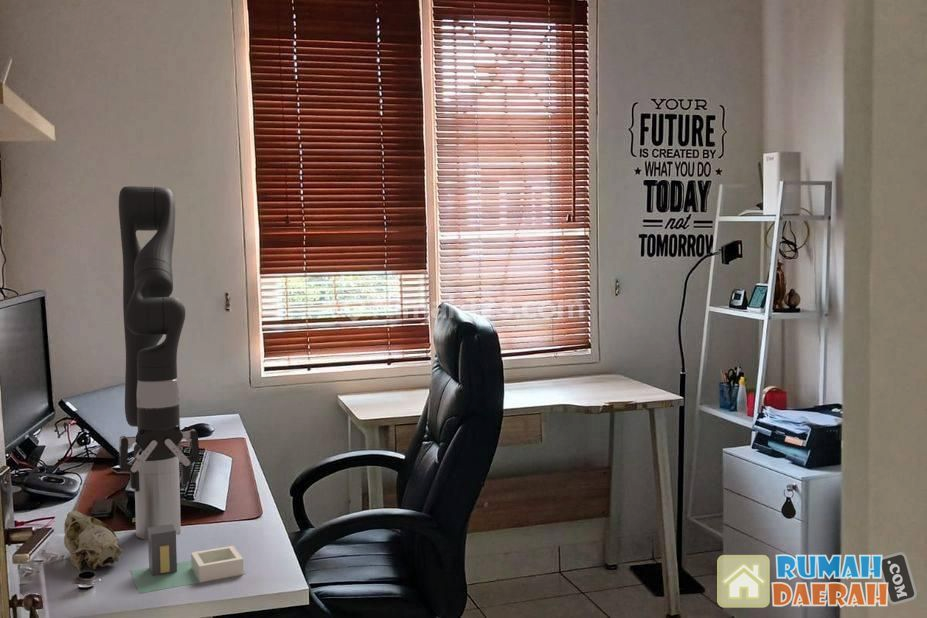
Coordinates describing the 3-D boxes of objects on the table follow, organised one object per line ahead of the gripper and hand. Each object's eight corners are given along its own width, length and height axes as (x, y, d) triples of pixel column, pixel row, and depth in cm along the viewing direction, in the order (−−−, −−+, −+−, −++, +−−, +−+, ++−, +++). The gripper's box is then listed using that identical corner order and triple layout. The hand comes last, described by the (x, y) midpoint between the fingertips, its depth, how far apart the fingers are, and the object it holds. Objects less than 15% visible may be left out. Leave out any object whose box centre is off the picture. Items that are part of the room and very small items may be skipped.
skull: (90, 539, 176) (94, 497, 173) (130, 579, 166) (134, 535, 163) (43, 554, 168) (46, 510, 165) (81, 596, 159) (85, 550, 156)
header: (191, 567, 162) (191, 552, 162) (233, 560, 166) (233, 545, 166) (199, 582, 155) (199, 566, 155) (243, 574, 159) (243, 558, 159)
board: (130, 576, 161) (130, 570, 161) (231, 558, 170) (231, 553, 170) (139, 598, 151) (139, 593, 150) (246, 578, 160) (246, 573, 159)
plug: (149, 568, 162) (147, 527, 162) (173, 564, 164) (171, 523, 164) (153, 577, 158) (151, 535, 157) (177, 572, 160) (176, 531, 159)
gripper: (193, 396, 166) (195, 478, 167) (115, 403, 159) (118, 488, 160) (201, 402, 159) (203, 487, 160) (120, 409, 152) (122, 497, 154)
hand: (160, 487), depth 160 cm, fingers open, 8 cm apart
